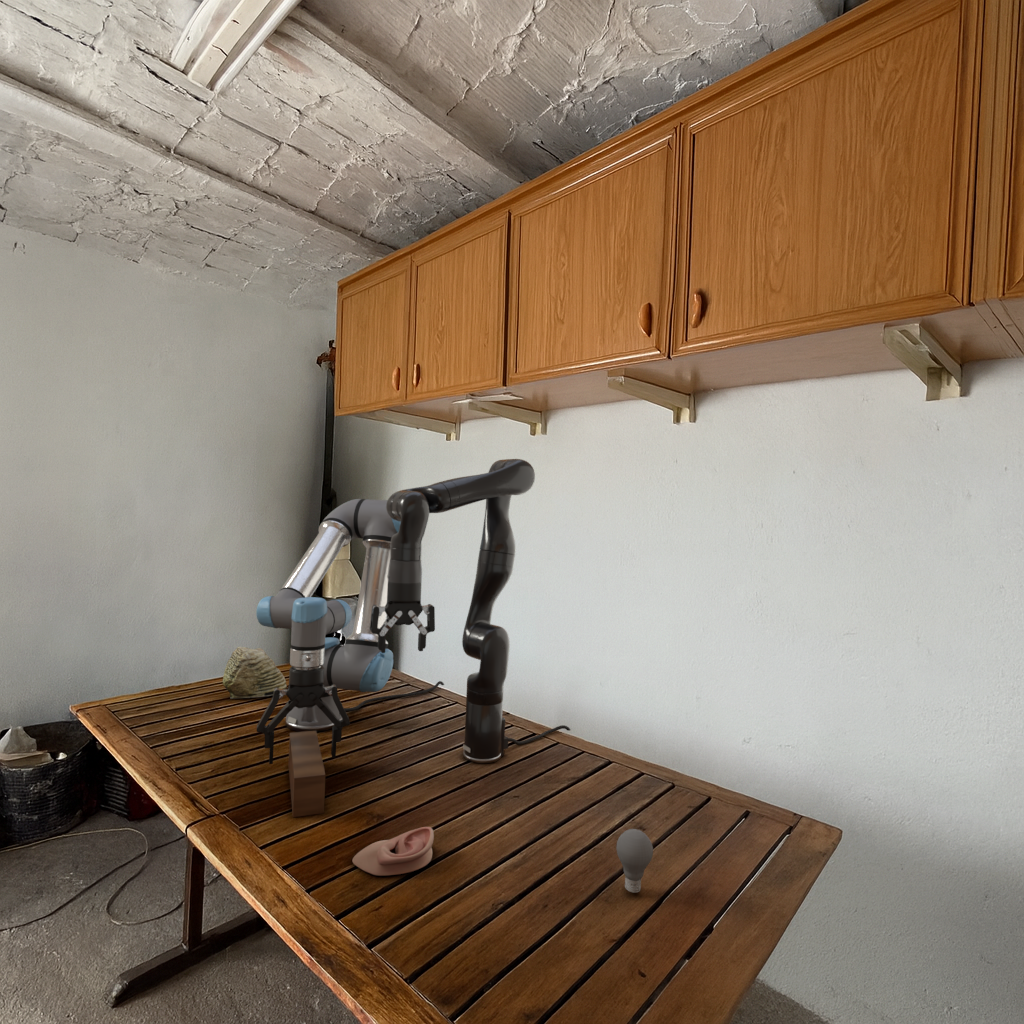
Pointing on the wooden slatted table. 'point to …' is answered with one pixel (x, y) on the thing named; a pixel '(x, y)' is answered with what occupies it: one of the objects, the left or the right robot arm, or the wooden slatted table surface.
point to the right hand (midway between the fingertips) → (401, 651)
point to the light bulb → (634, 857)
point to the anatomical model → (397, 853)
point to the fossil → (252, 674)
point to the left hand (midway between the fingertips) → (302, 758)
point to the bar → (306, 774)
